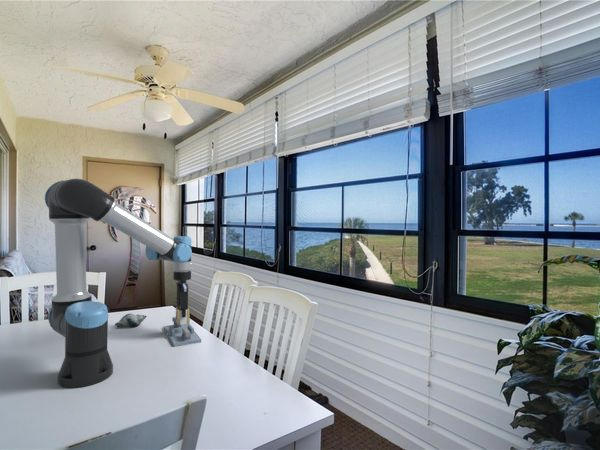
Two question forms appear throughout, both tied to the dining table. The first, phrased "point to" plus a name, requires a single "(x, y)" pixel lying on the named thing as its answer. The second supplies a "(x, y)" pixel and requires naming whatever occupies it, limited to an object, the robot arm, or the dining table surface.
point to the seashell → (130, 320)
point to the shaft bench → (181, 334)
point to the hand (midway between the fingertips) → (181, 322)
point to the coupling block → (179, 315)
